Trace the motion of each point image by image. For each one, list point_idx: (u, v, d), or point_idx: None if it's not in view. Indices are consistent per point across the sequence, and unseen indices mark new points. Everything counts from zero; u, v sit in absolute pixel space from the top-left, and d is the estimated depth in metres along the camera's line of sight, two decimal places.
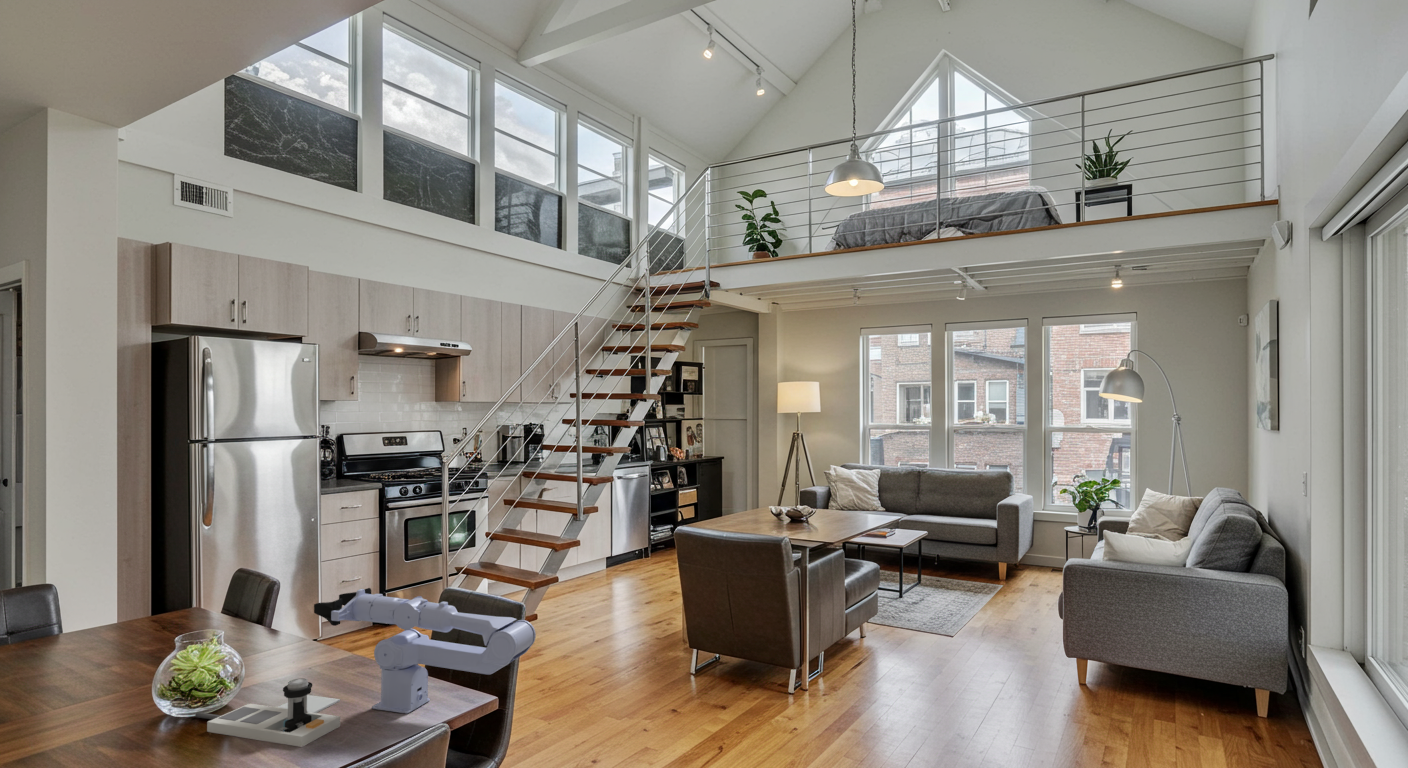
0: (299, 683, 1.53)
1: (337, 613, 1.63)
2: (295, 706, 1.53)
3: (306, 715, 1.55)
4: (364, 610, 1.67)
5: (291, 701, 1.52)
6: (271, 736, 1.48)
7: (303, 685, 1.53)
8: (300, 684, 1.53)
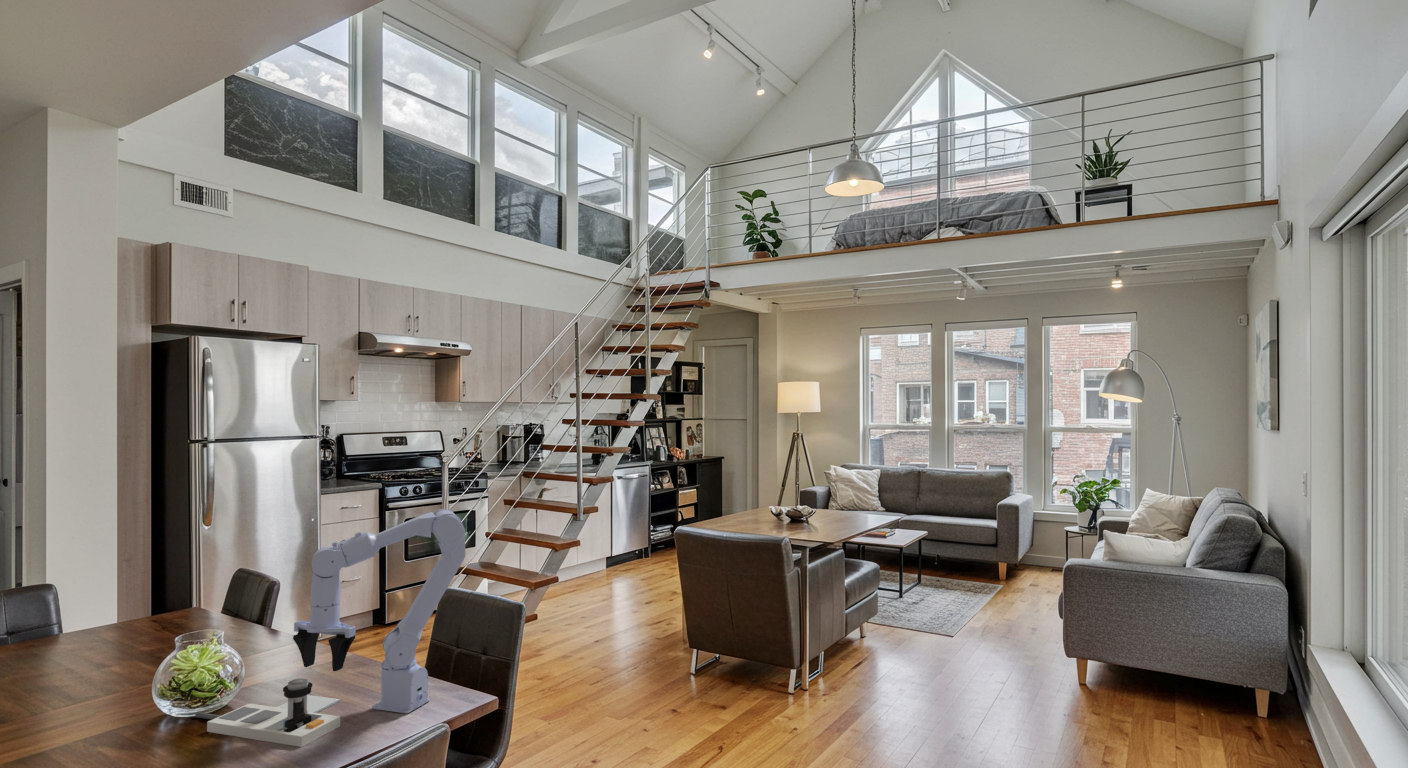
0: (299, 683, 1.53)
1: (349, 629, 1.58)
2: (295, 706, 1.53)
3: (306, 715, 1.55)
4: (334, 612, 1.60)
5: (291, 701, 1.52)
6: (271, 736, 1.48)
7: (303, 685, 1.53)
8: (300, 684, 1.53)
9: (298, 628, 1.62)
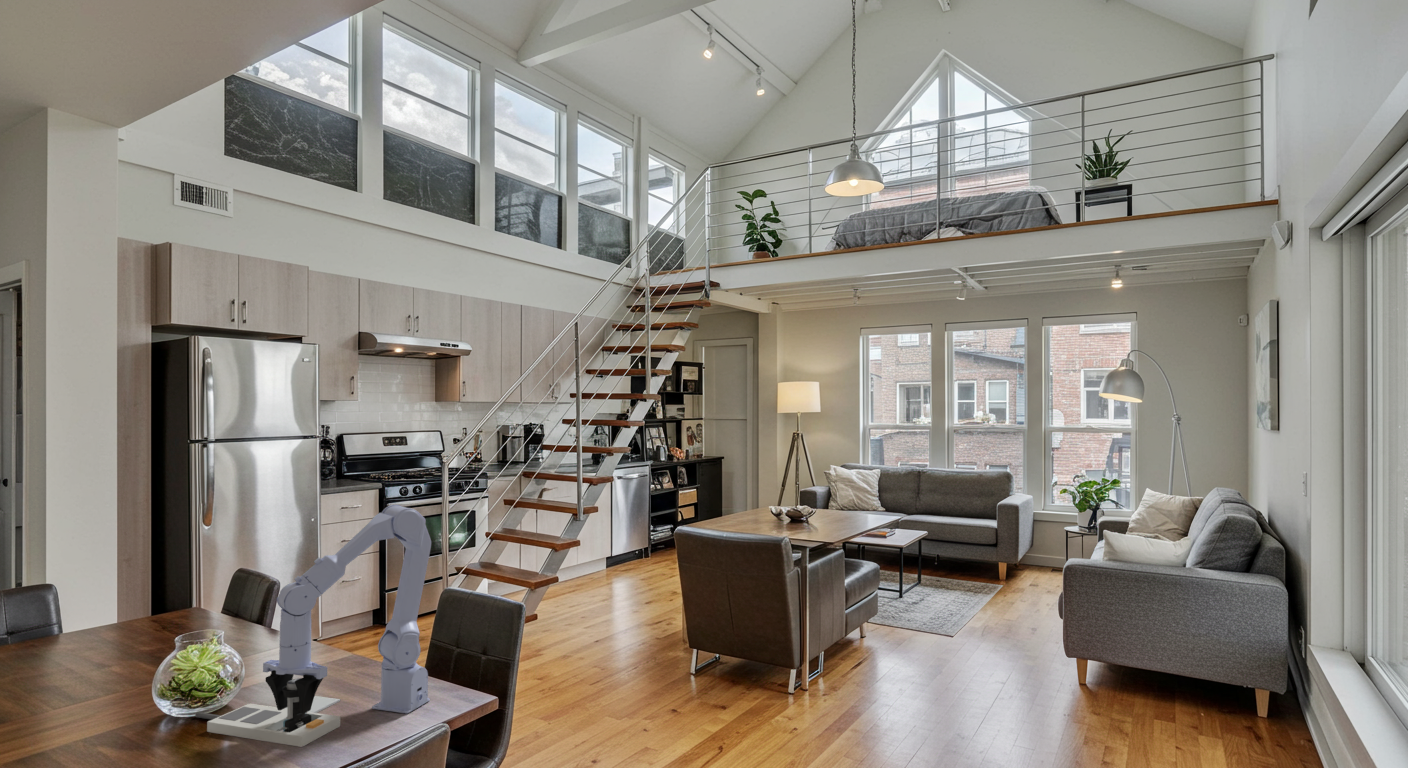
0: None
1: (321, 670, 1.51)
2: (295, 706, 1.53)
3: (306, 715, 1.55)
4: (304, 651, 1.52)
5: (291, 701, 1.52)
6: (271, 736, 1.48)
7: None
8: None
9: (267, 668, 1.54)
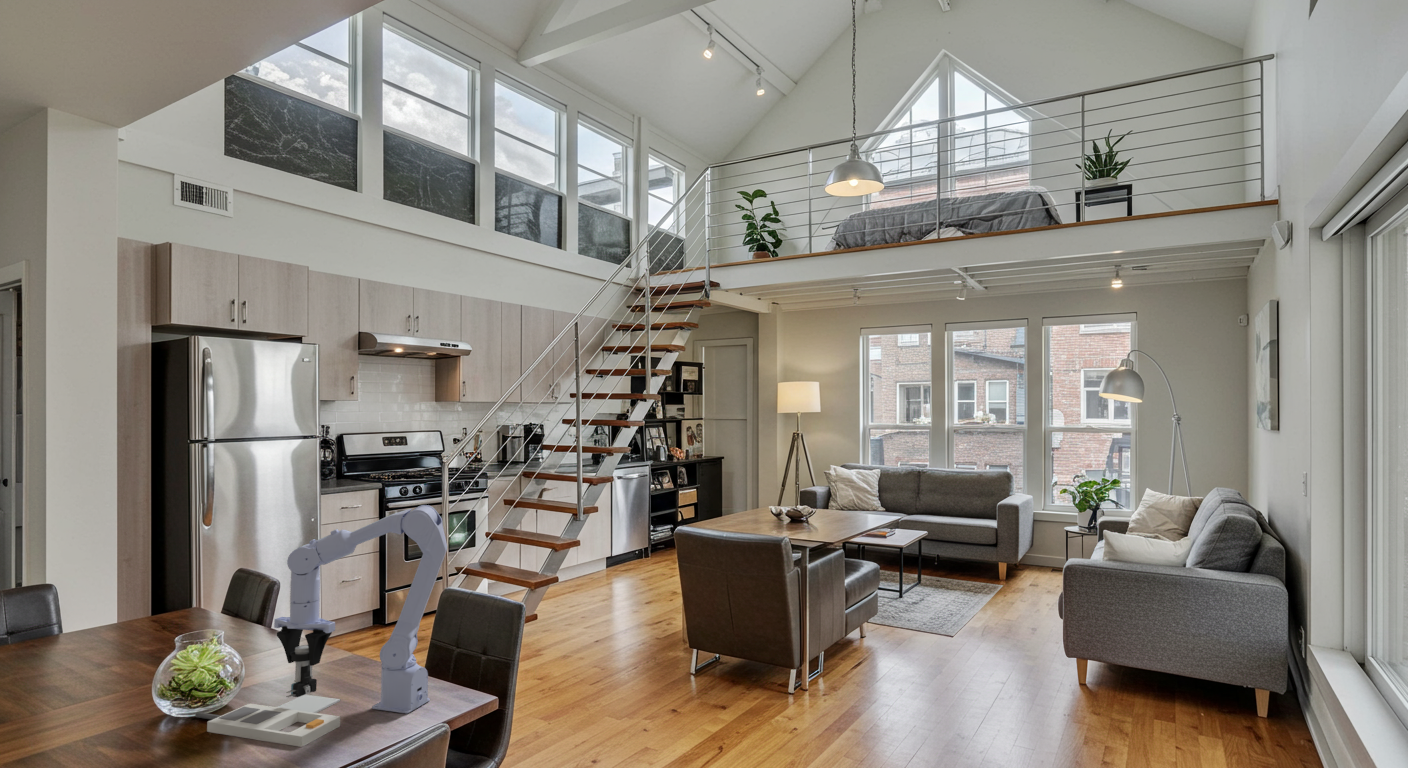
0: (307, 647, 1.63)
1: (329, 625, 1.61)
2: (302, 670, 1.63)
3: (311, 679, 1.65)
4: (314, 608, 1.63)
5: (299, 665, 1.62)
6: (271, 736, 1.48)
7: None
8: (308, 648, 1.63)
9: (278, 624, 1.65)
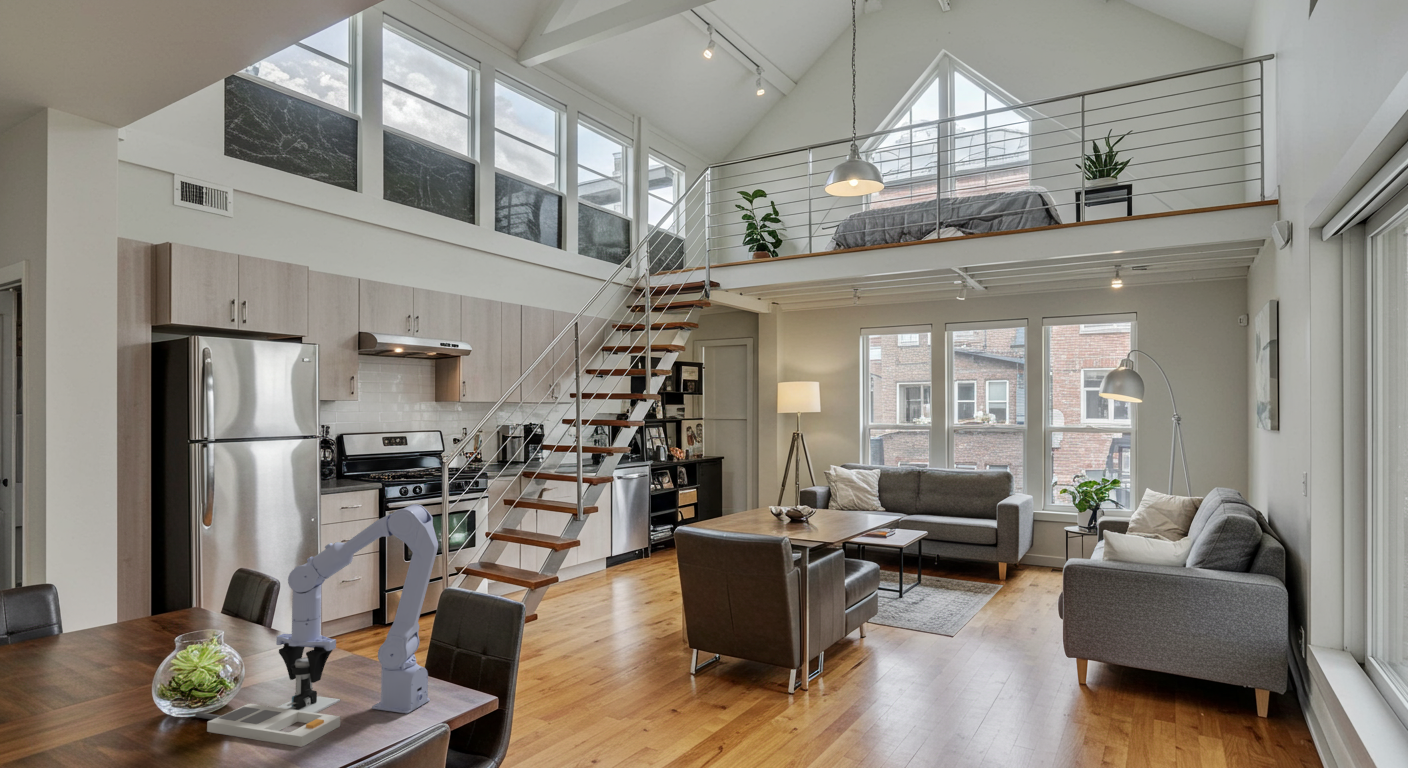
0: (307, 661, 1.65)
1: (330, 642, 1.63)
2: (303, 682, 1.65)
3: (312, 691, 1.67)
4: (315, 625, 1.65)
5: (299, 678, 1.64)
6: (271, 736, 1.48)
7: None
8: (308, 662, 1.65)
9: (280, 641, 1.67)
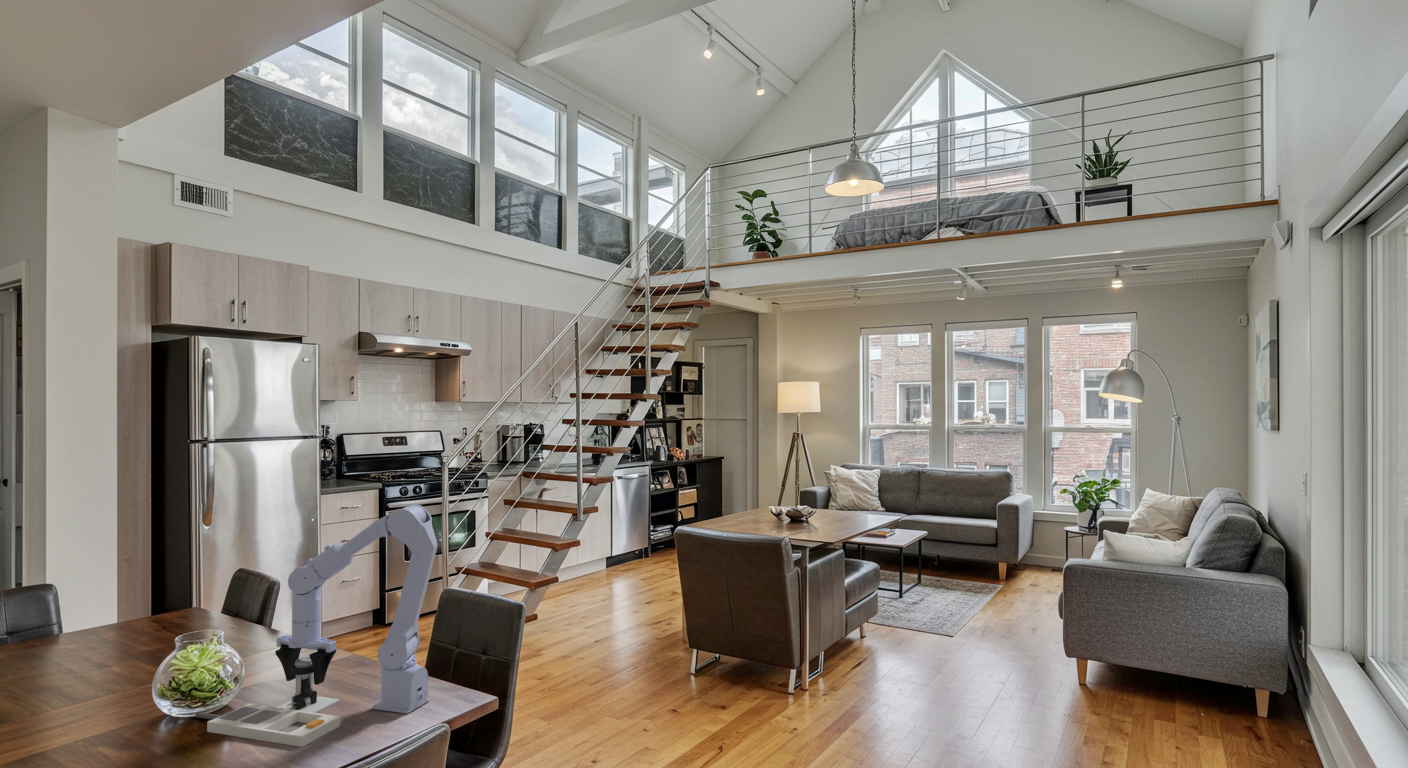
0: (307, 661, 1.65)
1: (330, 644, 1.63)
2: (303, 682, 1.65)
3: (312, 691, 1.67)
4: (315, 627, 1.65)
5: (299, 678, 1.64)
6: (271, 736, 1.48)
7: (310, 663, 1.65)
8: (308, 662, 1.65)
9: (280, 643, 1.67)
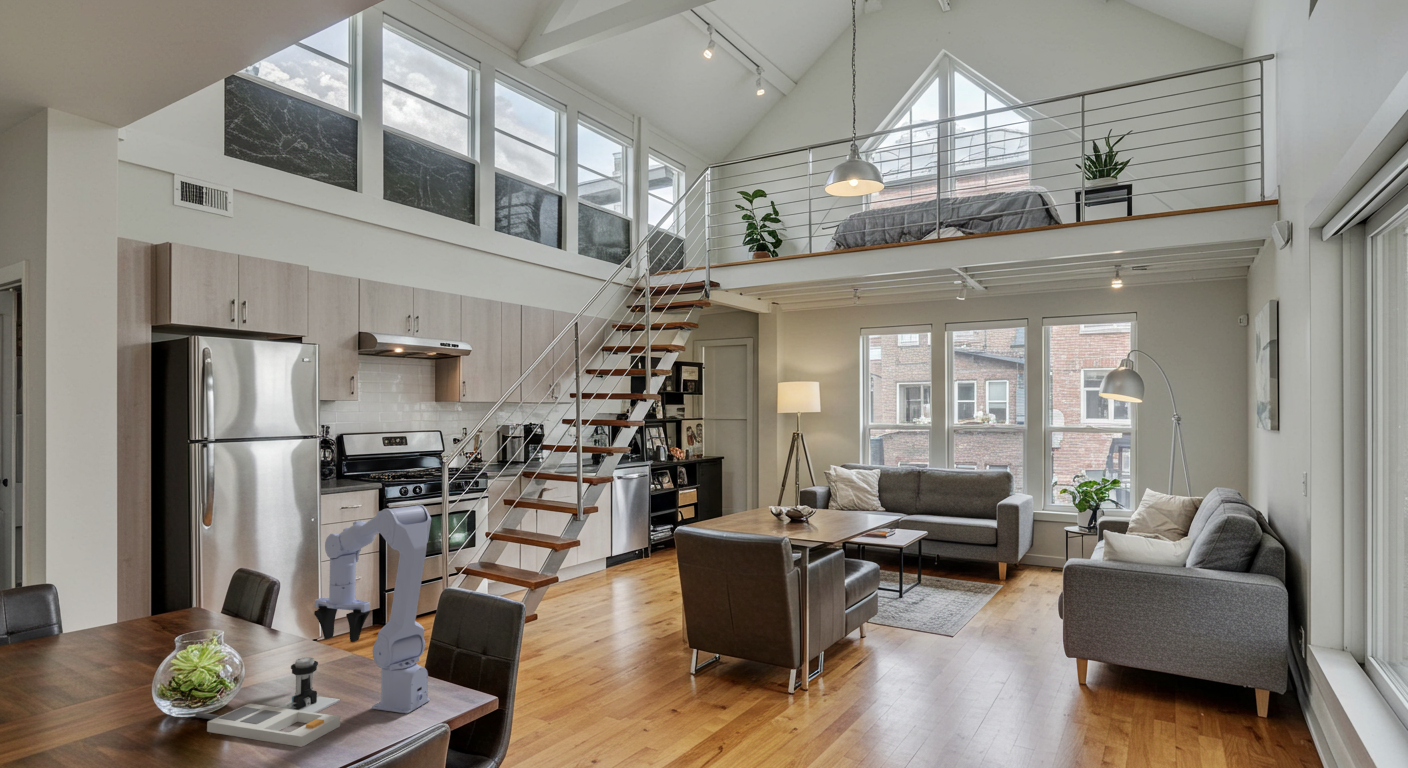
0: (307, 661, 1.65)
1: (365, 605, 1.78)
2: (303, 682, 1.65)
3: (312, 691, 1.67)
4: (351, 589, 1.79)
5: (299, 678, 1.64)
6: (271, 736, 1.48)
7: (310, 663, 1.65)
8: (308, 662, 1.65)
9: (318, 605, 1.81)
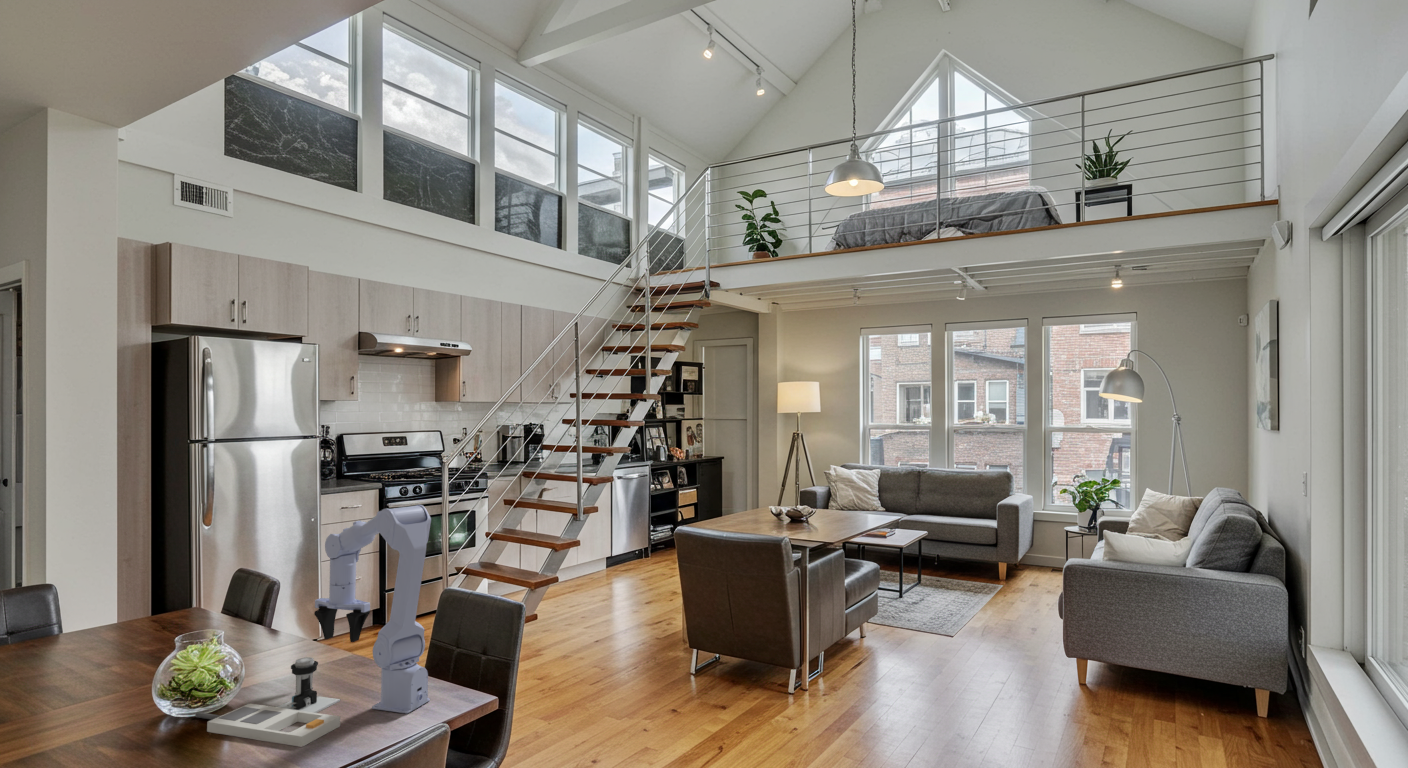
0: (307, 661, 1.65)
1: (365, 605, 1.78)
2: (303, 682, 1.65)
3: (312, 691, 1.67)
4: (351, 589, 1.80)
5: (299, 678, 1.64)
6: (271, 736, 1.48)
7: (310, 663, 1.65)
8: (308, 662, 1.65)
9: (318, 605, 1.82)
